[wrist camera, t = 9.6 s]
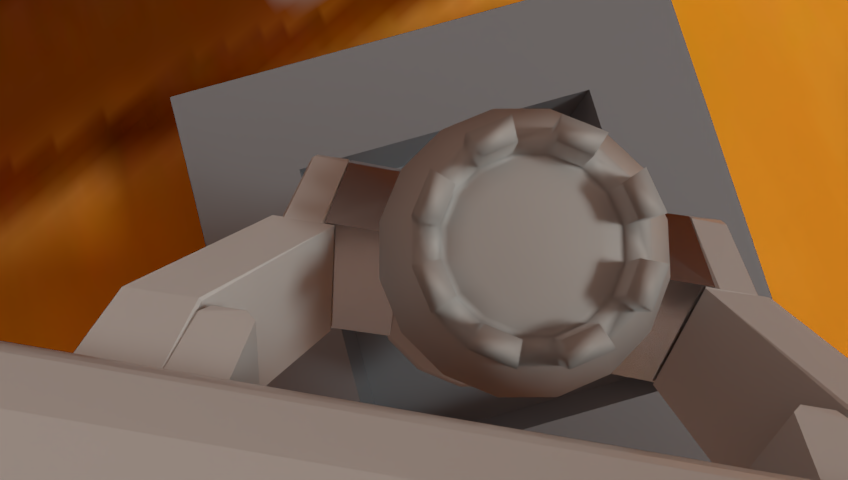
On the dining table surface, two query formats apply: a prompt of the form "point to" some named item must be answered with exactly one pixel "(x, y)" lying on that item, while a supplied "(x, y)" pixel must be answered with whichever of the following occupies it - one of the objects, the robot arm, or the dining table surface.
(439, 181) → the rook chess piece
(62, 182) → the dining table surface
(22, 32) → the dining table surface
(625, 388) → the socket block
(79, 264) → the dining table surface
